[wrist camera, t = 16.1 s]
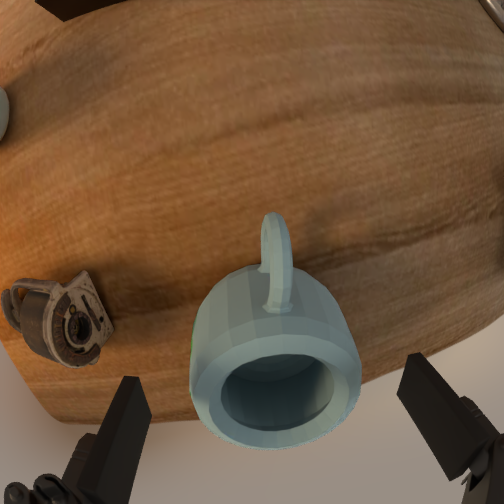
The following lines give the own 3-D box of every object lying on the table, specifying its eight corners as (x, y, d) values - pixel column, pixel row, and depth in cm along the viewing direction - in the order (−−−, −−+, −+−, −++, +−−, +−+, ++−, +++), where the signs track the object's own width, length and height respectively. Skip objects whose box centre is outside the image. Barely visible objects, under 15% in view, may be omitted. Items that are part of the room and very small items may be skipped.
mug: (188, 203, 21) (144, 232, 11) (339, 200, 21) (410, 227, 11) (204, 373, 25) (191, 462, 15) (325, 367, 25) (357, 449, 15)
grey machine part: (101, 409, 19) (85, 331, 15) (-13, 364, 17) (-48, 279, 12) (118, 349, 26) (117, 266, 21) (16, 316, 23) (-2, 235, 19)
